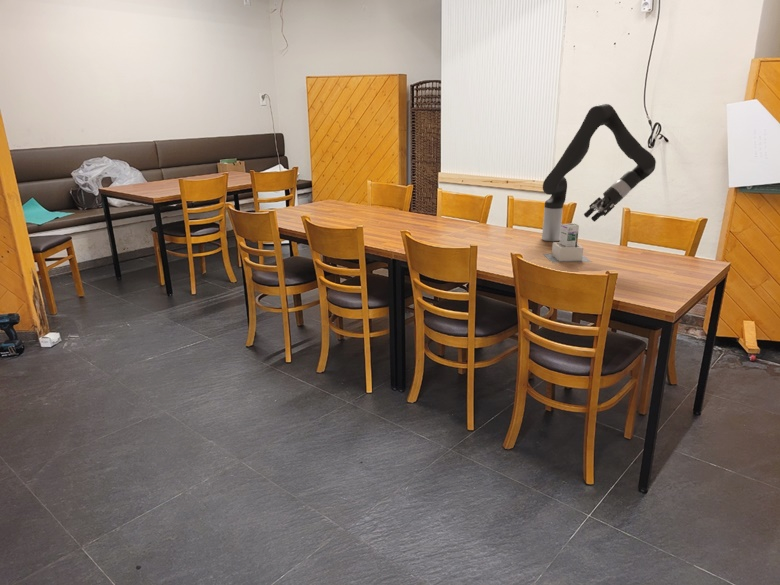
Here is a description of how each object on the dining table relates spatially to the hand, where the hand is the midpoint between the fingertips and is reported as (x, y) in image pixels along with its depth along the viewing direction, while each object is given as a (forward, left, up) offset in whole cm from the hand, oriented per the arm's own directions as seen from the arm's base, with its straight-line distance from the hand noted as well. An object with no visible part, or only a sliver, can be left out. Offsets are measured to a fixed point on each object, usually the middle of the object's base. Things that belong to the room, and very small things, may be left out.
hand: (588, 218), depth 246 cm
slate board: (0, -8, -20) cm, 21 cm away
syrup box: (0, -8, -17) cm, 19 cm away
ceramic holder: (0, -8, -18) cm, 20 cm away
